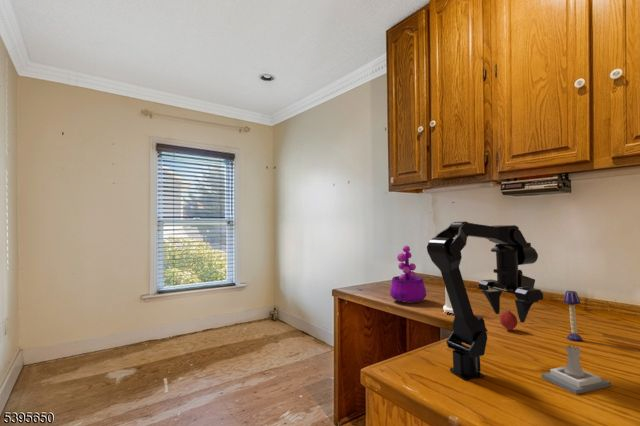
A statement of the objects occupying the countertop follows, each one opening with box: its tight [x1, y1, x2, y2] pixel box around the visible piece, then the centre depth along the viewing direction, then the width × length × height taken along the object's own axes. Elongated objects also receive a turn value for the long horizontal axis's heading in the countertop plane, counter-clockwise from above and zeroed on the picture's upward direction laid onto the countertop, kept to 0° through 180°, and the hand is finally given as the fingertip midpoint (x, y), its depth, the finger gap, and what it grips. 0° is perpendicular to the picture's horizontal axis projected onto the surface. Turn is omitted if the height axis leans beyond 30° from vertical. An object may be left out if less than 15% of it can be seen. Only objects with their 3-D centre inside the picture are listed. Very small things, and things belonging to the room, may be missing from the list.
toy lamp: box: [563, 290, 583, 342], centre depth 115 cm, size 5×5×17 cm
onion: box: [499, 309, 518, 331], centre depth 126 cm, size 6×6×8 cm
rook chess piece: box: [564, 344, 585, 380], centre depth 85 cm, size 4×4×8 cm
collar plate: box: [541, 365, 612, 395], centre depth 85 cm, size 12×9×2 cm
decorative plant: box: [389, 244, 427, 303], centre depth 175 cm, size 19×18×30 cm
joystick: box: [442, 286, 454, 314], centre depth 153 cm, size 11×8×20 cm
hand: (509, 318), depth 99 cm, fingers open, 9 cm apart
